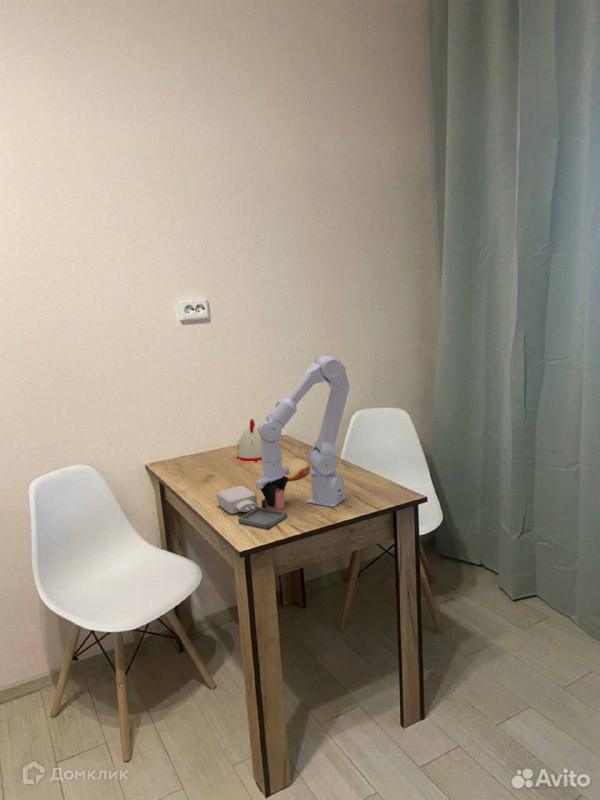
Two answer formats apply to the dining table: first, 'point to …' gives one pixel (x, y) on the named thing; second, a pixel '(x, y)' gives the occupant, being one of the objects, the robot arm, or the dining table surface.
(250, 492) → the charger
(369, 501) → the dining table surface
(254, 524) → the tray
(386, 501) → the dining table surface
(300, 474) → the bread slice
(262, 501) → the bar
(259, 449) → the kitchen timer
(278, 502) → the salmon gift carton
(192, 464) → the dining table surface
